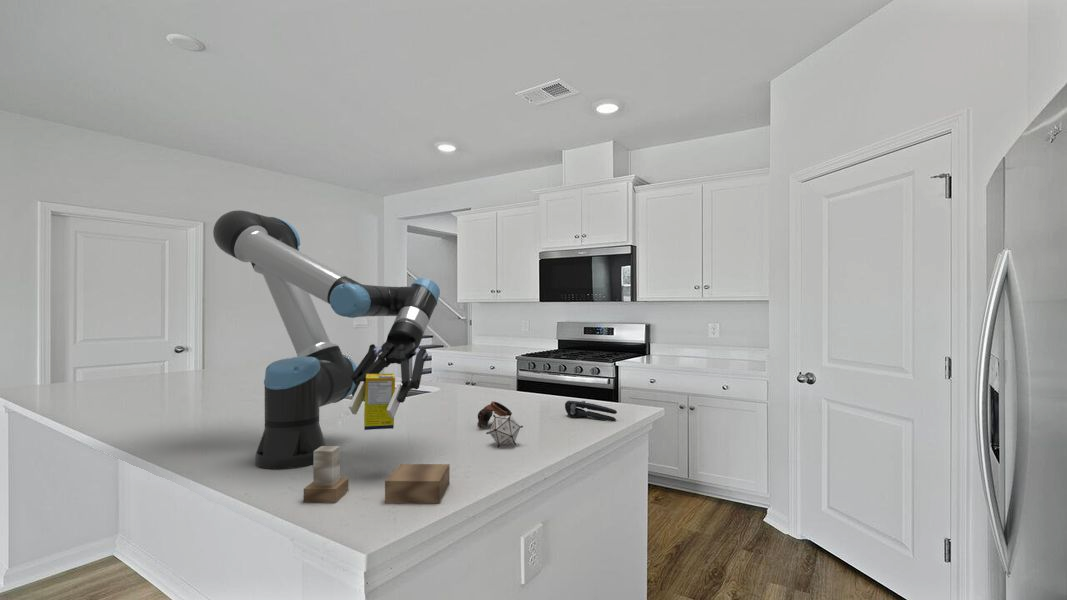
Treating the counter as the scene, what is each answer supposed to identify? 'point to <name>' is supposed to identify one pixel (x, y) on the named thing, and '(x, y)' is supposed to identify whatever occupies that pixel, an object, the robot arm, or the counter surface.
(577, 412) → the can opener
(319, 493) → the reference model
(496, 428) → the game die
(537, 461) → the counter surface
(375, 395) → the supplement box
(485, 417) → the brown curved piece
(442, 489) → the plinth
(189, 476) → the counter surface
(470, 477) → the counter surface
